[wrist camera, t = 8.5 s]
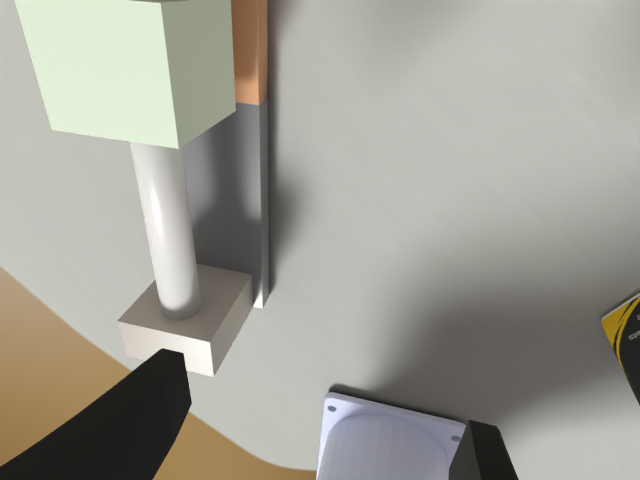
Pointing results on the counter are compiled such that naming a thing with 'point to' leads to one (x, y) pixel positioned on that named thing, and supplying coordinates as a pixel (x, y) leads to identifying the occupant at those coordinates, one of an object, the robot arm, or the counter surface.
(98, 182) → the counter surface
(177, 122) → the sleeve
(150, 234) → the rod with sliding collar
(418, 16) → the counter surface
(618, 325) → the medicine bottle
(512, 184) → the counter surface
